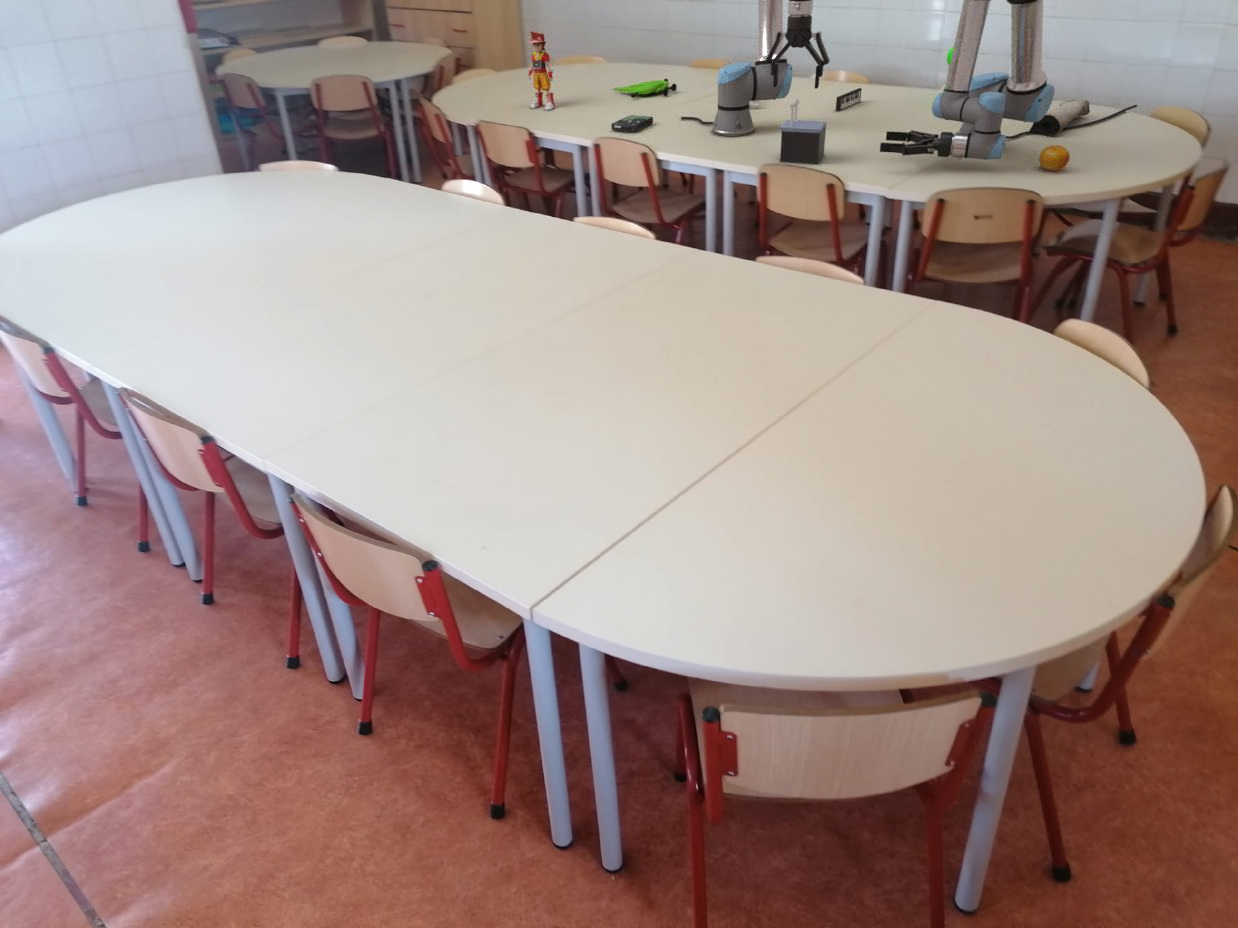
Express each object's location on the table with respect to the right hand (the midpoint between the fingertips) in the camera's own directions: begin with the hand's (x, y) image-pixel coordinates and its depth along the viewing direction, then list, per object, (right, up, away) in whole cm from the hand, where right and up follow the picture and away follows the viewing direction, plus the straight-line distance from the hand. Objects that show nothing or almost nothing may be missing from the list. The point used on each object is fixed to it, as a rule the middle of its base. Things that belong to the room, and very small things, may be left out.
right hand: (883, 141), depth 291 cm
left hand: (-28, +18, +1) cm, 34 cm away
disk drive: (-81, +26, +58) cm, 102 cm away
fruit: (+50, -12, -10) cm, 52 cm away
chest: (-24, -1, +13) cm, 27 cm away
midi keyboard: (+6, +38, +67) cm, 78 cm away
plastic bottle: (+47, +39, +64) cm, 88 cm away
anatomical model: (-35, +42, +77) cm, 94 cm away
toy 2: (-76, +60, +106) cm, 144 cm away
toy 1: (-119, +48, +92) cm, 157 cm away
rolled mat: (+72, +16, +30) cm, 79 cm away
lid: (-25, +7, +8) cm, 27 cm away
